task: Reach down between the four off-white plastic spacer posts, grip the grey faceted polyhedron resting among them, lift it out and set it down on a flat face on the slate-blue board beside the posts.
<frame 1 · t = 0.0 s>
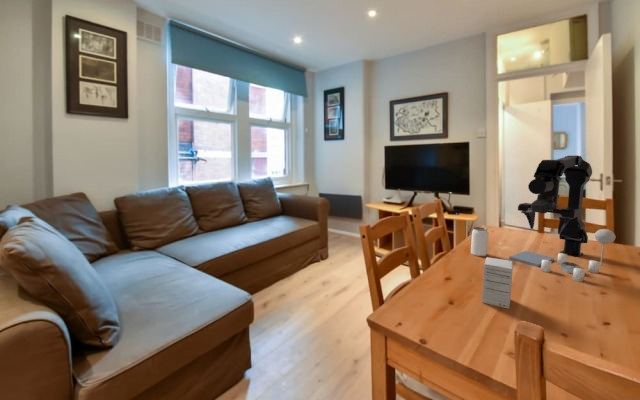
hand: (544, 231, 115), 15 cm above the table, tool pointing down, fingers open, 9 cm apart
grey faceted polyhedron: (569, 271, 112), on the table
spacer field: (569, 271, 112), on the table
lollipop: (600, 265, 118), on the table
supplement box: (495, 301, 91), on the table
can: (478, 254, 133), on the table
board: (531, 259, 125), on the table
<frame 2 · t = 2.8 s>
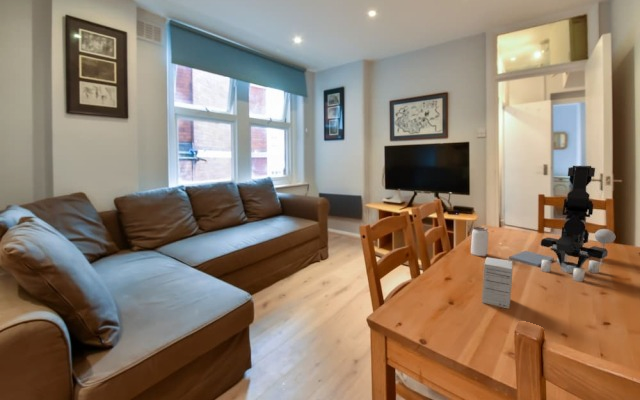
hand: (569, 268, 112), 1 cm above the table, tool pointing down, fingers closed on grey faceted polyhedron, 4 cm apart
grey faceted polyhedron: (569, 271, 112), on the table, touching gripper
everything else where it was.
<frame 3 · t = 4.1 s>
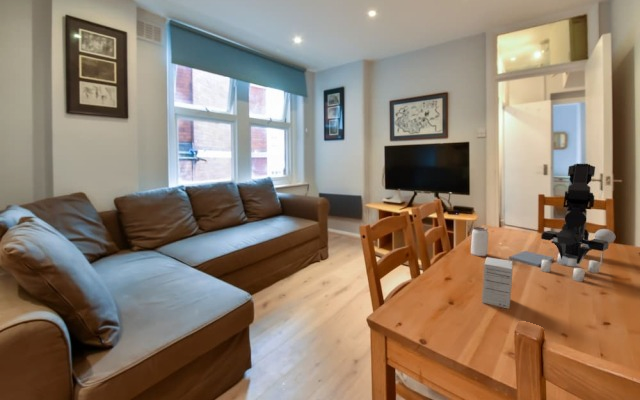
hand: (570, 261, 112), 4 cm above the table, tool pointing down, fingers closed on grey faceted polyhedron, 4 cm apart
grey faceted polyhedron: (570, 264, 112), point 3 cm above the table, touching gripper
everything else where it was.
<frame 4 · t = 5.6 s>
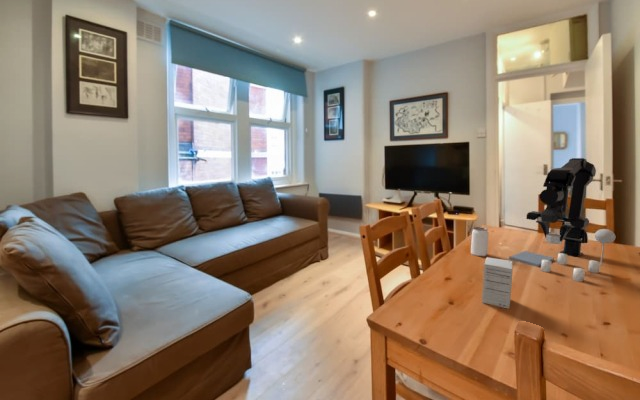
hand: (553, 239, 117), 11 cm above the table, tool pointing down, fingers closed on grey faceted polyhedron, 4 cm apart
grey faceted polyhedron: (553, 242, 117), point 10 cm above the table, touching gripper
everything else where it was.
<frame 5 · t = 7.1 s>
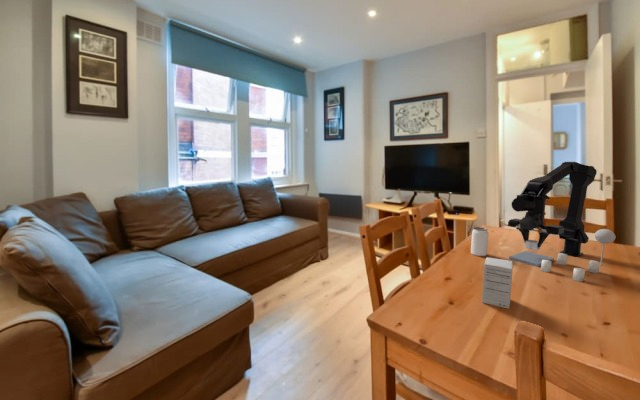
hand: (532, 245, 124), 6 cm above the table, tool pointing down, fingers closed on grey faceted polyhedron, 4 cm apart
grey faceted polyhedron: (532, 248, 125), point 5 cm above the table, touching gripper
everything else where it was.
when the fingers open (3 cm above the table, at t = 8.3 s): grey faceted polyhedron drops 1 cm, resting on board.
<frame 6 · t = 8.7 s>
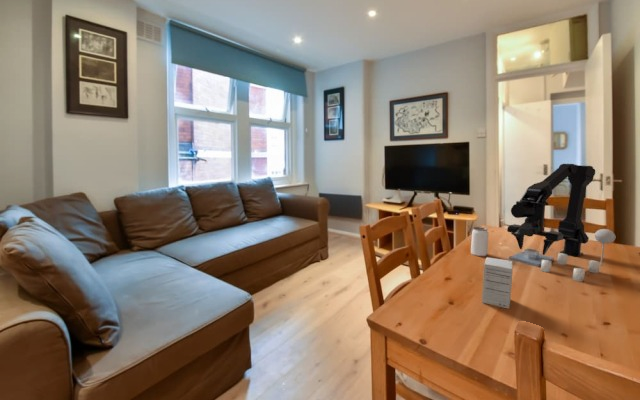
hand: (531, 251, 125), 3 cm above the table, tool pointing down, fingers open, 8 cm apart
grey faceted polyhedron: (531, 257, 125), point 1 cm above the table, touching board
everything else where it was.
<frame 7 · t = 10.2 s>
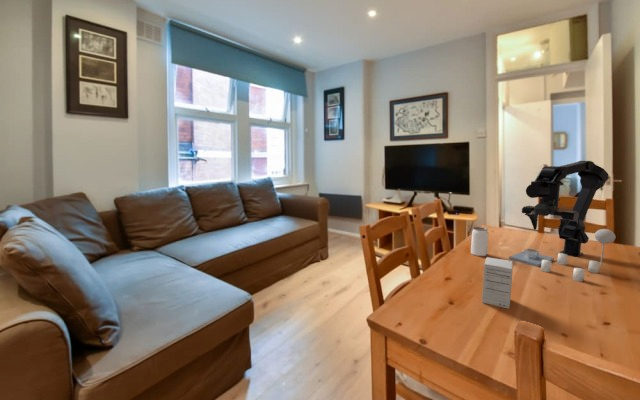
hand: (547, 231, 126), 12 cm above the table, tool pointing down, fingers open, 9 cm apart
nothing on the table moved.
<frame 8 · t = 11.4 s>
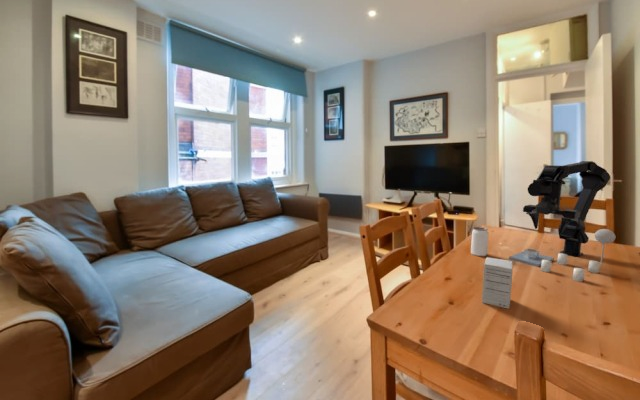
hand: (548, 230, 126), 12 cm above the table, tool pointing down, fingers open, 9 cm apart
nothing on the table moved.
at the end: grey faceted polyhedron inside the target area on the board (0.1 cm from its centre), point 1.0 cm above the board's base; grey faceted polyhedron tilted 0°; the gripper is holding nothing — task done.
